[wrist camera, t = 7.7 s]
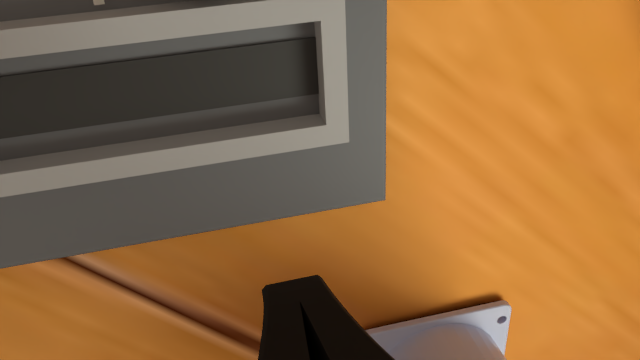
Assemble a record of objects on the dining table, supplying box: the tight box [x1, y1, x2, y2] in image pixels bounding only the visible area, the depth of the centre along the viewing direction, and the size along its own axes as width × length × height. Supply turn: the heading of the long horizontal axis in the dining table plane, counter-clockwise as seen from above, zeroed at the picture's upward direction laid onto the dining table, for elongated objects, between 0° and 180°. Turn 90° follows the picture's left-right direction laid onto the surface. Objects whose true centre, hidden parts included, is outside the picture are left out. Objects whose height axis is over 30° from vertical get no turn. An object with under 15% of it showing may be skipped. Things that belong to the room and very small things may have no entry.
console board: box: [0, 0, 387, 268], centre depth 18 cm, size 12×22×3 cm, turn 93°
